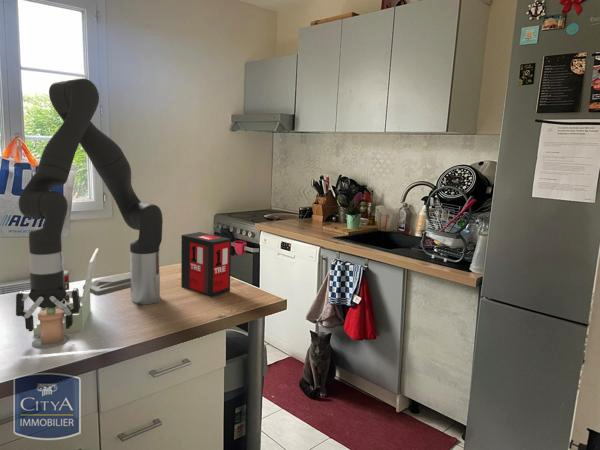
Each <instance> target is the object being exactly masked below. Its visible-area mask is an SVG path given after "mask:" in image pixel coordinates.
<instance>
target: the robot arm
mask: <svg viewBox="0 0 600 450" xmlns="http://www.w3.org/2000/svg"><path fill="white" fill-rule="evenodd" d="M48 89H49V90H48V96H49V99H50V103H51V105H52V107H53V109H54V110H55V111H56V113H57V114H58V116H59V117H60V118H61V120H62V121H63V122H62V123H61V125H60V127H59V128H58V130H57V131H55V133H54V134H53V135H52V136H51V138H50V139H49V140H48V142H47V144H46V145H45V147H44V149H43V151H42V153H41V157H40V160H39V163H38V166H37V170H36V171H35V173H34V174H33V176H32V177H31V178H30V180H29V181H28V183H27V184H26V186H25V187H24V189H23V190H22V191H21V193H20V195H19V199H18V209H19V211H20V214H22V216H24V217H25V218H29V219H41V220H45V222H44V224H43V226H41V227H37V228H33V229H31V230H30V231H29V233H28V246H29V249H28V250H29V258H28V259H29V260H28V266H29V267H28V268H29V283H30V284H29V285H30V286H29V287H30V291H24V290H19V291H18V292H17V293H16V295H15V316H17V317H23V318H24V321H25V329H26V330H28V332H34V331H33V329H34V327H35V325H34V312H35V311H36V310H37V309H38V308H40V309H46V308H47V307H50V308H55V307H56V306H58V307H59V308H60V309H61V310H63V311H64V312H65V313H66V316H65V317H66V329H69V328H70V326H72V323H73V313H77V312H79V309H80V299H79V296H80V291H79V288H78V287H75V288H73V289H69V290H66V289H65V285H64V270H65V269H64V268H65V263H64V255H63V249H62V248H63V247H62V233H63V229H64V224H65V221H66V217H67V213H68V207H69V206H68V201H67V198H66V197H65V195H64V194H63V193H61V192H59V191H57V190H56V191H55V190H51V189H53V188H55V187H56V188H57V187H61V186H64V185H66V183H67V181H68V178H69V176H70V173H71V168H72V165H73V161H74V158H75V156H76V155H75V154H76V152H77V150H78V147H79V145H80V146H81V147H82V149H83V150H84V152H85V155H87V157H88V159H89V161H90V162H91V164H92V166H93V167H94V169H95V170H96V172H97V174H98V176H99V177H100V178H101V180H102V181H103V183H104V185H105V187H106V188H107V190H108V191H109V193H110V194H111V196H112V198H113V200H114V201H115V204H116V205H117V207H118V210H119V212H120V214H121V216H122V218H123V220H124V222H125V224H126V225H127V227H129V228H130V229H133V230H136V231H138V239H137V240H133V241H131V243H130V244H129V258H130V259H129V260H130V261H129V262H130V265H129V266H130V268H129V269H130V273H129V274H131V287H130V301H131V302H132V303H136V305H150V304H154V303H160V302H161V300H160V299H161V297H160V296H161V289H160V288H161V285H160V284H161V283H160V281H161V280H160V278H161V275H160V246H161V244H162V240H163V219H164V217H163V212H162V210H161V208H160V207H159V206H158V205H156V204H153V203H148V202H147V203H146V202H142V201H141V199H140V198H139V197H138V196H137V194H136V192H135V190H134V188H133V186H132V168H131V165H130V163H129V160H128V159H127V157H126V155H125V153H124V152H123V150H122V148H121V147H120V146H119V144H117V142H115V141H114V140H113V139H112V138H110V137H109V136H107V134H105V133H104V132H103V131H101V129H99V128H98V127H97V126H96V125H95V124H94V123H93V122H92V119H93V117H94V115H95V113H96V111H97V109H98V107H99V103H100V95H99V91H98V90H99V89H98V88H97V86H96V85H95V83H93V82H92V81H91V80H90V79H88V78H83V77H78V78H70V79H65V80H59V81H54V82H53V83H52V84H50V87H49V88H48ZM66 295H69V297H70V299H71V300H72V302H73V307H72V308H71V307H70V306H69V305H68V303H67V302H66V300H65V299H64V297H65V296H66ZM28 298H29V299H30V300H31V301H32V302H33V303H32V305H30V308H28V310H26V309H25V301H26V300H28ZM62 301H63V302H62Z"/></svg>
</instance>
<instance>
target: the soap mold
mask: <svg viewBox="0 0 600 450" xmlns="http://www.w3.org/2000/svg"><path fill="white" fill-rule="evenodd" d="M84 286H85V284H83V287H82V290H84ZM127 288H131V273H122V274H119V275H118V274H117V275H114V276H110V277H105V278H100V279H96V280H94V281H92V283H91V287H90V293H93V294H95V295H96V296H99V295H100V296H101V295H104V294H107V293H111V292H115V291H119V290H124V289H127Z"/></svg>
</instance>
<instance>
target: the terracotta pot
mask: <svg viewBox="0 0 600 450" xmlns="http://www.w3.org/2000/svg"><path fill="white" fill-rule="evenodd" d="M45 309H46V308H45ZM45 309H44V310H42V311H39V312H38V313H37V321H38V320H40V333H41V335H40V337H41V343H42V344H47V345H49V344H56V343H59V342H61V341H63V339H64V335H65V333H63V317H64V311H63V310H61V309H55V308H50V307H48V308H47V309H46V310H45Z"/></svg>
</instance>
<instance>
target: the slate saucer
mask: <svg viewBox="0 0 600 450" xmlns="http://www.w3.org/2000/svg"><path fill="white" fill-rule="evenodd" d="M69 340H70V337H69V336H68V335H67V334H64V339H63V341H61V342H59V343H56V344H49V345H47V344H42V343H41V336H39V337H37V338H35V339H34V340H33V341H32V342H31V346H32V347H34V348H35V349H41V350H44V349H46V350H47V349H53V348H57V347H58V348H59V347H60V346H63V345H65V344H66V343H68V342H69Z"/></svg>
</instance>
